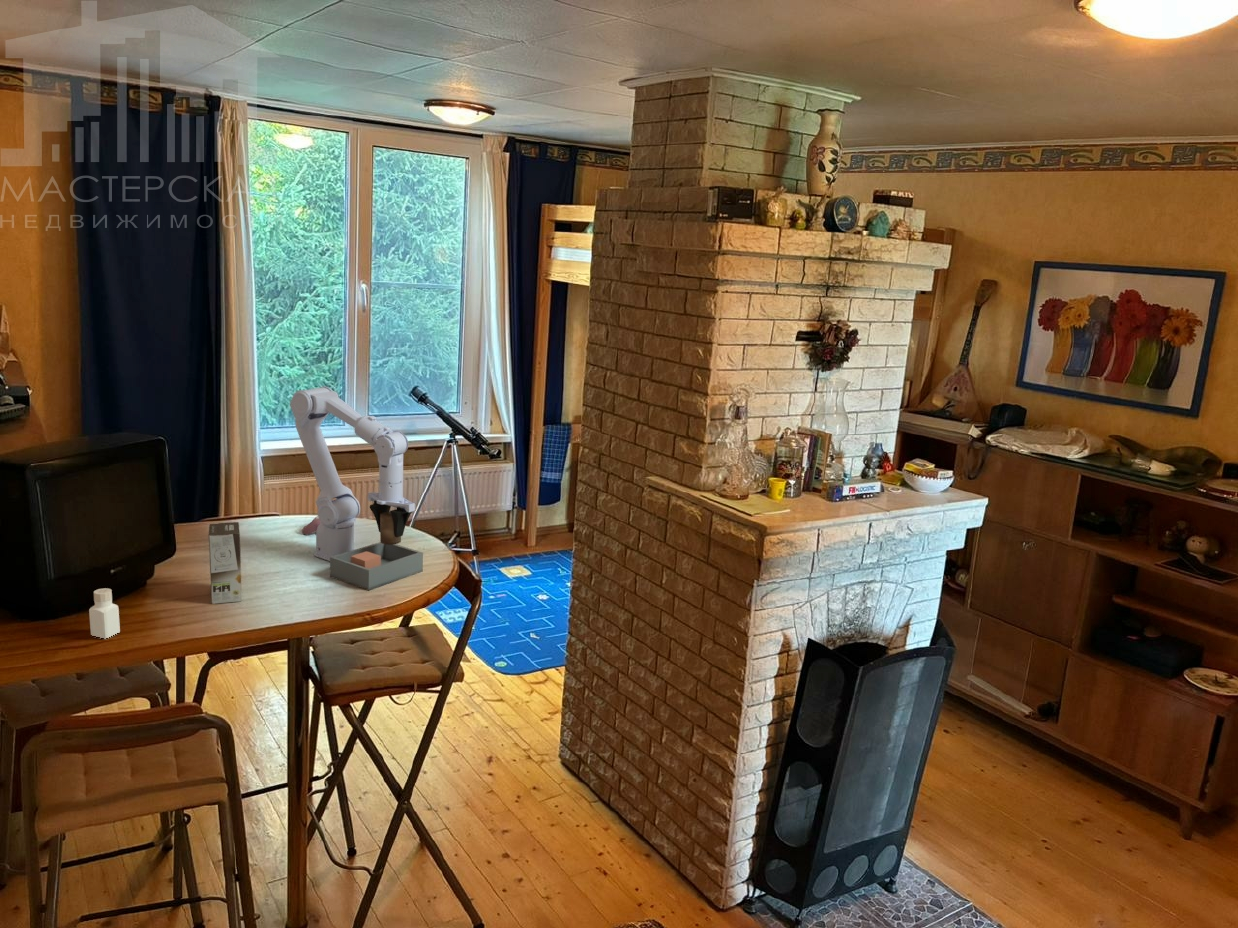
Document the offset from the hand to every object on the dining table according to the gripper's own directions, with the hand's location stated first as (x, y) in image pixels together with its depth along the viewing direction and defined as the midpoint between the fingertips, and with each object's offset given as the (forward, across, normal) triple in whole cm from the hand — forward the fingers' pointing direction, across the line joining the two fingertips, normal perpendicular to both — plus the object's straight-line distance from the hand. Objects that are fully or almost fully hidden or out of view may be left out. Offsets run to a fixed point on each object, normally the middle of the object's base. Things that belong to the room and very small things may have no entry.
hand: (390, 533), depth 232 cm
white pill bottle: (+10, -13, -64) cm, 66 cm away
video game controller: (+10, -37, +8) cm, 39 cm away
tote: (+9, 0, -4) cm, 10 cm away
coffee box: (+10, -14, -36) cm, 40 cm away
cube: (+9, 0, -8) cm, 12 cm away
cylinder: (+2, 0, 0) cm, 2 cm away
